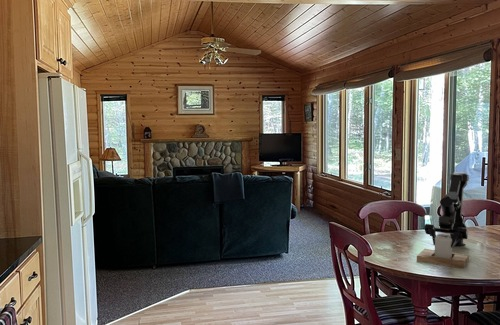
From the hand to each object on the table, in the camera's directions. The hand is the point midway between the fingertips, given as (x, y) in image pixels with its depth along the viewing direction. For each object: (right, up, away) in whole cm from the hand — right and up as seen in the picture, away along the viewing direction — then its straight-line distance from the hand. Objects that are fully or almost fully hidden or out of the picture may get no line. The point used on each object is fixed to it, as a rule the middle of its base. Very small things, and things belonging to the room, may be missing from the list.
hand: (442, 246), depth 198 cm
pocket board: (+1, -7, +2) cm, 7 cm away
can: (+1, -7, +2) cm, 7 cm away
